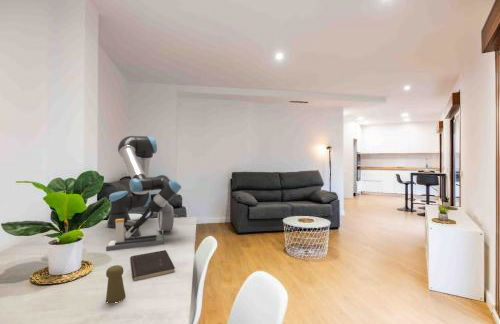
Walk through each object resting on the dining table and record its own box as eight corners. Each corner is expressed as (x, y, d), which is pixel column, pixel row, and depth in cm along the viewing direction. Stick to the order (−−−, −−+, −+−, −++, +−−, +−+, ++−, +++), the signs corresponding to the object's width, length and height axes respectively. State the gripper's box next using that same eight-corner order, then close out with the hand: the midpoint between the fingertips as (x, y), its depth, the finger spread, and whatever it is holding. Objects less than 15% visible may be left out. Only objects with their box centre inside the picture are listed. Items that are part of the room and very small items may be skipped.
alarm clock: (156, 229, 169) (155, 196, 169) (170, 227, 173) (169, 194, 172) (160, 236, 155) (159, 199, 154) (175, 233, 159) (174, 198, 158)
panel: (110, 244, 142) (110, 239, 142) (163, 238, 150) (163, 233, 150) (106, 250, 132) (106, 245, 132) (163, 244, 141) (163, 238, 141)
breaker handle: (117, 241, 140) (116, 219, 139) (124, 240, 141) (124, 218, 141) (115, 243, 136) (115, 220, 136) (123, 242, 138) (123, 219, 137)
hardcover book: (165, 254, 127) (165, 249, 127) (175, 273, 107) (175, 267, 107) (130, 261, 120) (130, 256, 120) (133, 282, 100) (132, 276, 100)
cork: (127, 299, 87) (126, 267, 87) (106, 306, 83) (105, 272, 83) (124, 292, 92) (122, 261, 92) (104, 297, 88) (103, 266, 88)
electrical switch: (141, 235, 157) (139, 220, 156) (133, 238, 153) (131, 223, 152) (132, 233, 162) (130, 218, 161) (124, 236, 158) (122, 221, 157)
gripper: (163, 209, 139) (130, 244, 134) (163, 205, 151) (133, 237, 147) (152, 200, 137) (118, 235, 132) (153, 197, 149) (122, 228, 145)
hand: (126, 236), depth 139 cm, fingers closed
